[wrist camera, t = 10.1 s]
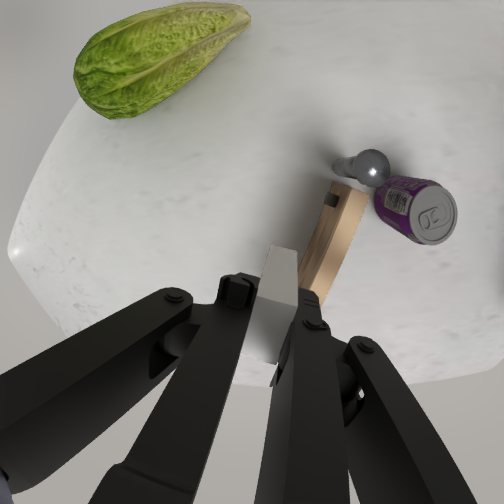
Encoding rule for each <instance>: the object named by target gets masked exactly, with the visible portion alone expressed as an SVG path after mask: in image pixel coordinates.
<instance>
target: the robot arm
mask: <svg viewBox="0 0 504 504" xmlns="http://www.w3.org/2000/svg"><path fill="white" fill-rule="evenodd" d="M239 356H244V357H247V358H251V359H255V360H258V361H262V362H266V363H270V364H274V365H276V364H277V361H278V359H279V364H278V366H277V369H276V371H275V374H274V376H273V379H272V381H271V383H270V386H269V387H272V386H273V390H272V397H271V404H270V411H269V418H268V425H267V431H266V437H265V443H264V451H263V456H262V462H261V468H260V473H259V479H258V485H257V490H256V495H255V501H254V504H350V495H349V493H350V492H349V475H348V470H349V473H350V476H351V478H352V481H353V484H354V487H355V490H356V493H357V496H358V499H359V502H360V504H477V502H476V500H475V498H474V496H473V494H472V492H471V490H470V489H469V487H468V485H467V483H466V481H465V480H464V478H463V476H462V474H461V472H460V471H459V469H458V467H457V465H456V463H455V462H454V460H453V458H452V457H451V455H450V453H449V451H448V450H447V448H446V446H445V445H444V443H443V441H442V440H441V438H440V436H439V435H438V433H437V432H436V430H435V428H434V427H433V425H432V423H431V422H430V420H429V419H428V417H427V416H426V414H425V412H424V411H423V409H422V408H421V406H420V405H419V403H418V402H417V400H416V398H415V397H414V395H413V394H412V392H411V391H410V389H409V388H408V386H407V385H406V383H405V382H404V380H403V379H402V377H401V376H400V374H399V373H398V371H397V370H396V368H395V367H394V366H393V364H392V363H391V361H390V360H389V358H388V357H387V355H386V354H385V353H384V351H383V350H382V348H381V347H380V346H379V345H378V344H377V343H376V342H375V341H373V340H372V339H370V338H368V337H363V336H354V337H352V338H351V339H350V341H349V343H348V344H347V343H345V342H343V341H340V340H338V339H336V338H334V337H333V336H331V330H330V327H329V325H328V324H327V323H326V322H325V321H324V320H322V316H321V309H320V304H319V297H318V296H317V295H316V293H315V292H314V291H311V290H307V289H303V288H299V287H298V273H297V251H295V250H291V249H287V248H284V247H280V246H276V245H273V244H271V246H270V250H269V253H268V256H267V259H266V263H265V266H264V269H263V272H262V276H261V278H259V277H256V276H252V275H248V274H245V273H241V272H240V273H238V274H236V275H225V276H223V277H221V279H220V284H219V289H218V293H217V298H216V300H215V302H214V304H207V305H206V304H195V303H193V297H192V296H191V294H190V293H188V292H187V291H185V290H182V289H180V288H175V287H170V288H163V289H160V290H158V291H156V292H154V293H152V294H150V295H148V296H146V297H144V298H143V299H141V300H139V301H137V302H135V303H133V304H131V305H129V306H127V307H125V308H124V309H122V310H120V311H118V312H116V313H114V314H112V315H110V316H108V317H107V318H105V319H103V320H101V321H99V322H97V323H95V324H93V325H92V326H90V327H88V328H86V329H84V330H82V331H80V332H79V333H77V334H75V335H73V336H71V337H69V338H67V339H66V340H64V341H62V342H60V343H58V344H56V345H54V346H52V347H51V348H49V349H47V350H45V351H43V352H41V353H40V354H38V355H36V356H34V357H32V358H30V359H29V360H27V361H25V362H23V363H21V364H19V365H18V366H16V367H14V368H12V369H10V370H8V371H7V372H5V373H3V374H1V375H0V504H14V503H13V500H12V494H16V493H20V492H23V491H25V490H27V489H30V488H32V487H34V486H35V485H37V484H39V483H40V482H41V481H43V480H45V479H46V478H47V477H49V476H50V475H51V474H52V473H54V472H55V471H56V470H58V469H59V468H60V467H61V466H63V465H64V464H65V463H66V462H68V461H69V460H70V459H71V458H73V457H74V456H75V455H76V454H77V453H79V452H80V451H81V450H82V449H84V448H85V447H86V446H87V445H88V444H90V443H91V442H92V441H93V440H94V439H95V438H97V437H98V436H99V435H100V434H102V433H103V432H104V431H105V430H106V429H108V427H110V426H111V425H112V424H113V423H115V422H116V421H117V420H118V419H119V418H120V417H122V416H123V415H124V414H125V413H126V412H127V411H129V410H130V409H131V408H132V407H133V406H134V405H135V404H136V403H138V402H139V401H140V400H141V399H142V398H143V397H144V396H146V395H147V394H148V393H149V392H150V391H151V390H152V389H153V388H155V387H156V386H157V385H158V384H159V383H160V382H161V381H162V380H163V379H165V378H166V377H167V376H168V375H169V374H170V373H171V372H172V371H173V370H175V369H176V370H175V372H174V373H173V375H172V377H171V379H170V381H169V382H168V384H167V386H166V388H165V389H164V391H163V393H162V395H161V396H160V398H159V400H158V402H157V403H156V405H155V407H154V409H153V411H152V412H151V414H150V416H149V418H148V419H147V421H146V423H145V425H144V426H143V428H142V430H141V432H140V434H139V435H138V437H137V439H136V441H135V443H134V444H133V446H132V448H131V450H130V452H129V453H128V455H127V457H126V458H125V460H124V461H123V462H122V463H119V464H114V465H113V466H112V467H111V468H110V469H109V470H108V471H107V473H106V474H105V476H104V477H103V479H102V480H101V482H100V484H99V486H98V487H97V489H96V491H95V492H94V494H93V496H92V498H91V499H90V501H89V503H88V504H193V501H194V499H195V496H196V492H197V490H198V487H199V483H200V481H201V478H202V474H203V471H204V468H205V465H206V462H207V459H208V456H209V453H210V450H211V447H212V444H213V440H214V437H215V434H216V431H217V428H218V425H219V422H220V418H221V415H222V412H223V409H224V406H225V402H226V399H227V396H228V393H229V389H230V386H231V383H232V380H233V376H234V373H235V370H236V366H237V363H238V360H239ZM361 389H362V390H363V392H364V397H363V398H361V397H360V395H359V392H360V390H361Z"/></svg>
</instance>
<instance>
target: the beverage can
mask: <svg viewBox="0 0 504 504" xmlns="http://www.w3.org/2000/svg"><path fill="white" fill-rule="evenodd" d="M374 203H375V209H376V212H377V214H378V216H379V217H380V219H381V220H382V221H383V222H385V223H386V224H388V225H389V226H391V227H392V228H394V229H395V230H397V231H398V232H400V233H401V234H403V235H404V236H406V237H407V238H409V239H410V240H412V241H413V242H415V243H418V244H422V245H437V244H440V243H442V242H444V241H445V240H447V239H448V238H449V236H450V235H451V234H452V232H453V231H454V228H455V226H456V222H457V206H456V202H455V200H454V198H453V196H452V195H451V194H450V192H449V191H447V190H446V189H445V188H443V187H442V186H441V185H440V184H439V183H437V182H435V181H432V180H426V179H419V178H412V177H404V176H391V177H389V178H388V180H387V181H386V182H385V183H384V184H383V185H381V186H379V187H378V188H377V190H376V193H375V199H374Z"/></svg>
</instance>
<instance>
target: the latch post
mask: <svg viewBox="0 0 504 504" xmlns="http://www.w3.org/2000/svg"><path fill="white" fill-rule="evenodd" d="M333 170H334V172H335V174H337V175H338V176H342V177H347V178H352V179H357V180H358V181H359V182H360V183H361V184H363V185H365V186H368V187H379V186H381V185H383V184H384V183H385V182H386V181H387V180H388V178H389V176H390V163H389V161H388V159H387V157H386V156H385V155H384V154H383V153H382V152H380V151H378V150H375V149H369V150H364V151H362V152H360V153H359V154H358V155H357V156H354V157H348V158H342V159H338V160H336V161H335V162H334V164H333Z"/></svg>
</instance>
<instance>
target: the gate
mask: <svg viewBox="0 0 504 504" xmlns="http://www.w3.org/2000/svg"><path fill="white" fill-rule="evenodd" d="M369 197H370V195H368V194H366V193H364V192H361V191H359V190H357V189H354V188H352V187H349V186H346V185H343V184H340V183H337V182H334V181H333V184H332V186H331V189H330V192H328V193H327V195H326V197H325V200H324V204H325V205H324V208H323V210H322V213H321V215H320V218H319V220H318V223H317V225H316V228H315V231H314V233H313V236H312V238H311V240H310V243H309V245H308V248H307V250H306V253H305V255H304V258H303V260H302V262H301V265H300V267H299V270H298V272H297V273H298V287H299V288H303V289H307V290H311V291H314V292H315V293H316V295H317V296H318V297H319V304H320V308H321V306H322V304H323V302H324V300H325V298H326V296H327V294H328V292H329V290H330V288H331V286H332V283H333V281H334V279H335V277H336V275H337V273H338V271H339V268H340V266H341V264H342V262H343V260H344V257H345V255H346V253H347V250H348V248H349V246H350V244H351V241H352V239H353V237H354V234H355V232H356V229H357V227H358V225H359V222H360V220H361V217H362V215H363V212H364V210H365V207H366V205H367V202H368V199H369Z"/></svg>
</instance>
